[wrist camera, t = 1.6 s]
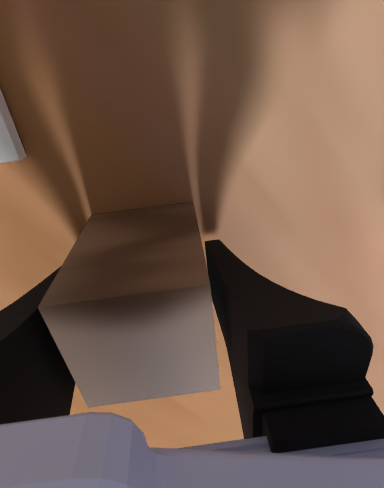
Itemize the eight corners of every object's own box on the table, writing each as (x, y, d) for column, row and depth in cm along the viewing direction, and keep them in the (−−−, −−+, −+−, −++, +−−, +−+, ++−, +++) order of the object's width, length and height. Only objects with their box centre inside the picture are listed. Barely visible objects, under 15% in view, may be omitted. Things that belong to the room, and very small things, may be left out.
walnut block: (192, 201, 13) (210, 284, 7) (201, 282, 15) (220, 389, 10) (91, 214, 13) (37, 307, 7) (116, 293, 15) (88, 407, 10)
